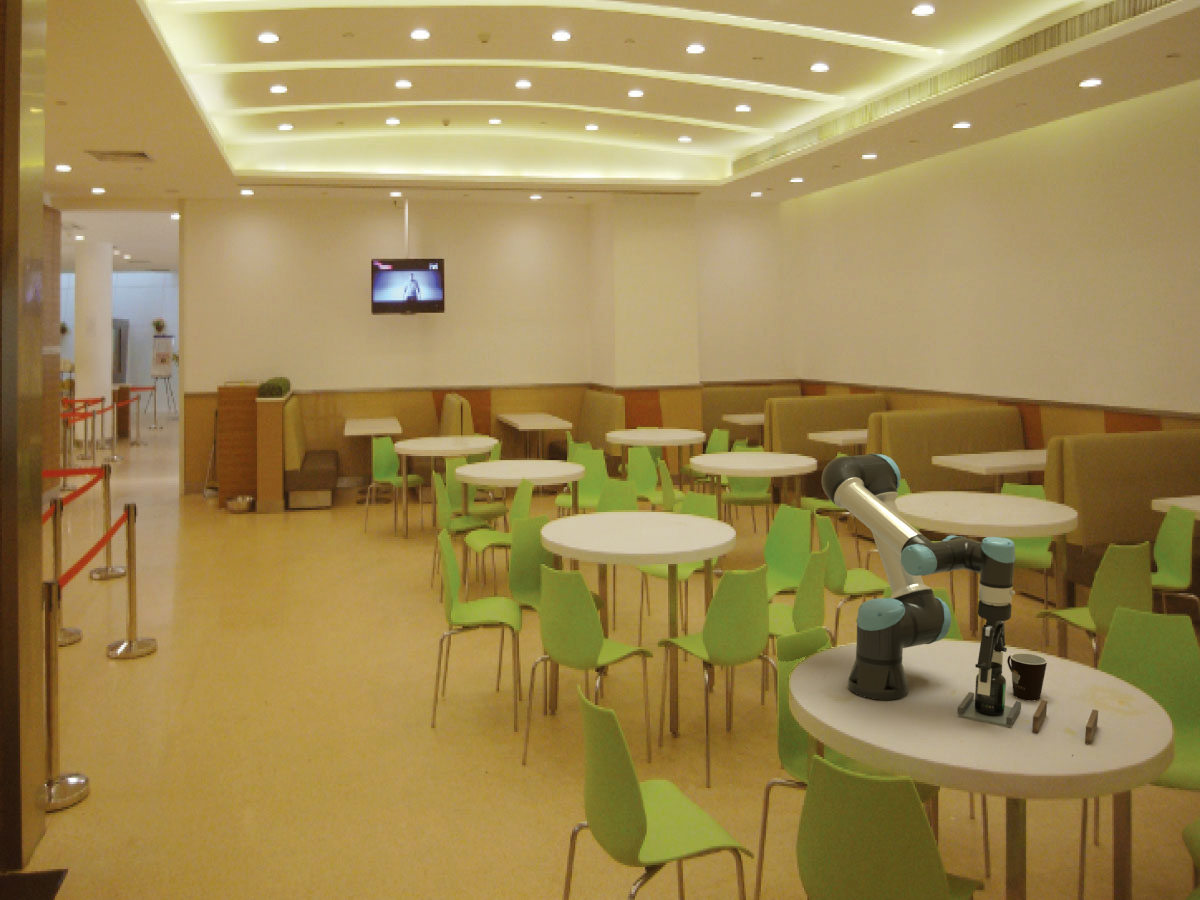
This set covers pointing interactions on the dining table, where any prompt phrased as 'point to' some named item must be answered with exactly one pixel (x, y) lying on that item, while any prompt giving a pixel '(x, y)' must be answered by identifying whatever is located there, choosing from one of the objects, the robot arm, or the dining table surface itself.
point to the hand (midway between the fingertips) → (989, 685)
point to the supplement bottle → (992, 693)
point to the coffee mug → (1027, 675)
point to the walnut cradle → (1041, 714)
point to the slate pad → (1005, 719)
